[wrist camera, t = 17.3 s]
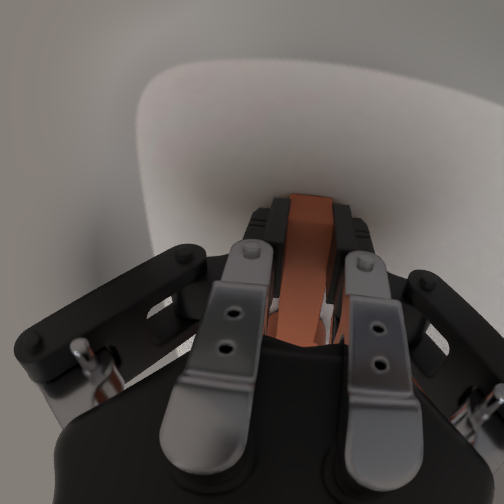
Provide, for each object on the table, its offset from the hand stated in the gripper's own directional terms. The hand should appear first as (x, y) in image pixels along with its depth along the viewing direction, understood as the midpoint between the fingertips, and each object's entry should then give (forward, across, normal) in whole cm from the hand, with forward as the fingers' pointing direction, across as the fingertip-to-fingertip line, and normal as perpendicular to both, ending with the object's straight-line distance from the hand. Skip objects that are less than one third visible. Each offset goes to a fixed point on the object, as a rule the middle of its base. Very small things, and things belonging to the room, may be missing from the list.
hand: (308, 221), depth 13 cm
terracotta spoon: (+1, 0, +4) cm, 4 cm away
